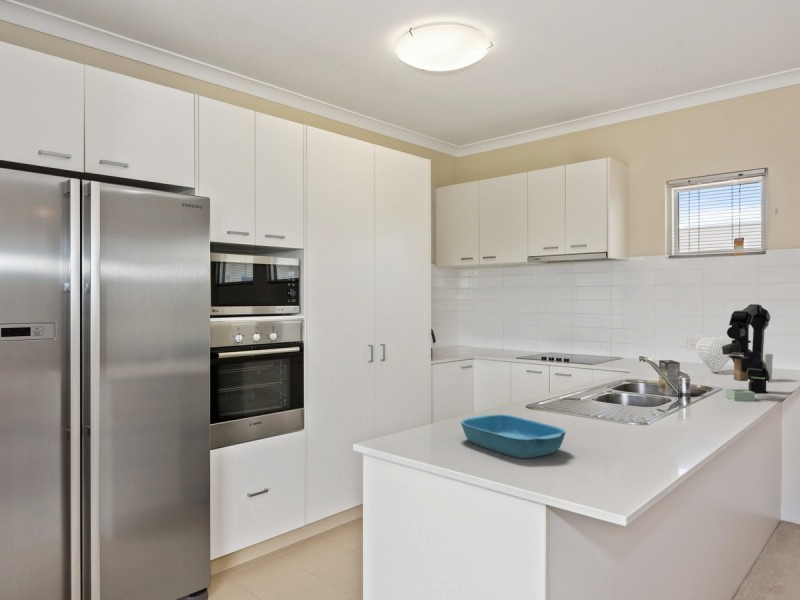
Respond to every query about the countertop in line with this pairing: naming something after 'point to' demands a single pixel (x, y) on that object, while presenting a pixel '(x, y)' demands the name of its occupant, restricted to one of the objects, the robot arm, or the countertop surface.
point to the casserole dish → (513, 435)
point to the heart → (713, 352)
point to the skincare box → (768, 363)
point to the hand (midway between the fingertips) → (741, 371)
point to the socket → (740, 394)
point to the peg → (739, 371)
